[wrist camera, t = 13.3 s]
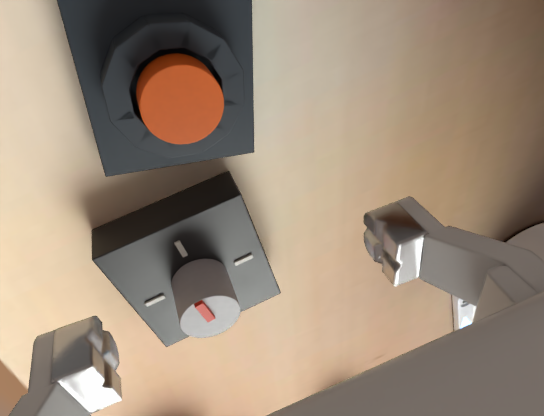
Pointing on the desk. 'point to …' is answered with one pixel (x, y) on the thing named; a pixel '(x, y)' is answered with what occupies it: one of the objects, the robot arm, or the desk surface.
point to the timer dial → (204, 298)
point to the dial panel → (183, 251)
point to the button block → (145, 48)
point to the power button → (179, 99)
